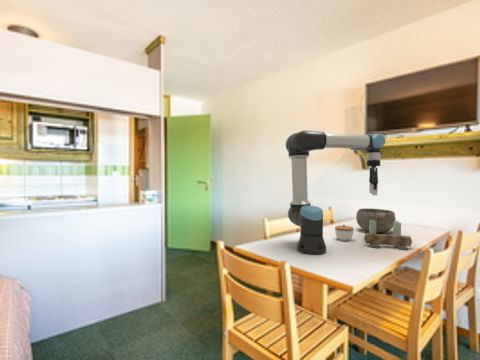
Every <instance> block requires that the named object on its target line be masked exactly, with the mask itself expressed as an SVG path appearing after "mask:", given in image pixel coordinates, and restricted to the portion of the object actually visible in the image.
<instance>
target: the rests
mask: <svg viewBox="0 0 480 360" xmlns="http://www.w3.org/2000/svg"><path fill="white" fill-rule="evenodd" d="M369 246H370V247H371V249H381V245H379V244H369ZM394 247H395V248H396V249H397V250H398V251H408V247H407V246H394Z"/></svg>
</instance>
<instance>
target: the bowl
mask: <svg viewBox="0 0 480 360" xmlns="http://www.w3.org/2000/svg"><path fill="white" fill-rule="evenodd" d="M355 218H356V223H357V225H358V226H359V227H360V228H361V229H363V230H365V231H368V232H369V220H375V222H376V234H381V233H382V234H383V233H387V232H389V231H391V230H393V221H396V214H395V212H394V210H388V209H381V208H370V207H369V208H358V210H357V212H356V216H355Z"/></svg>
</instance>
